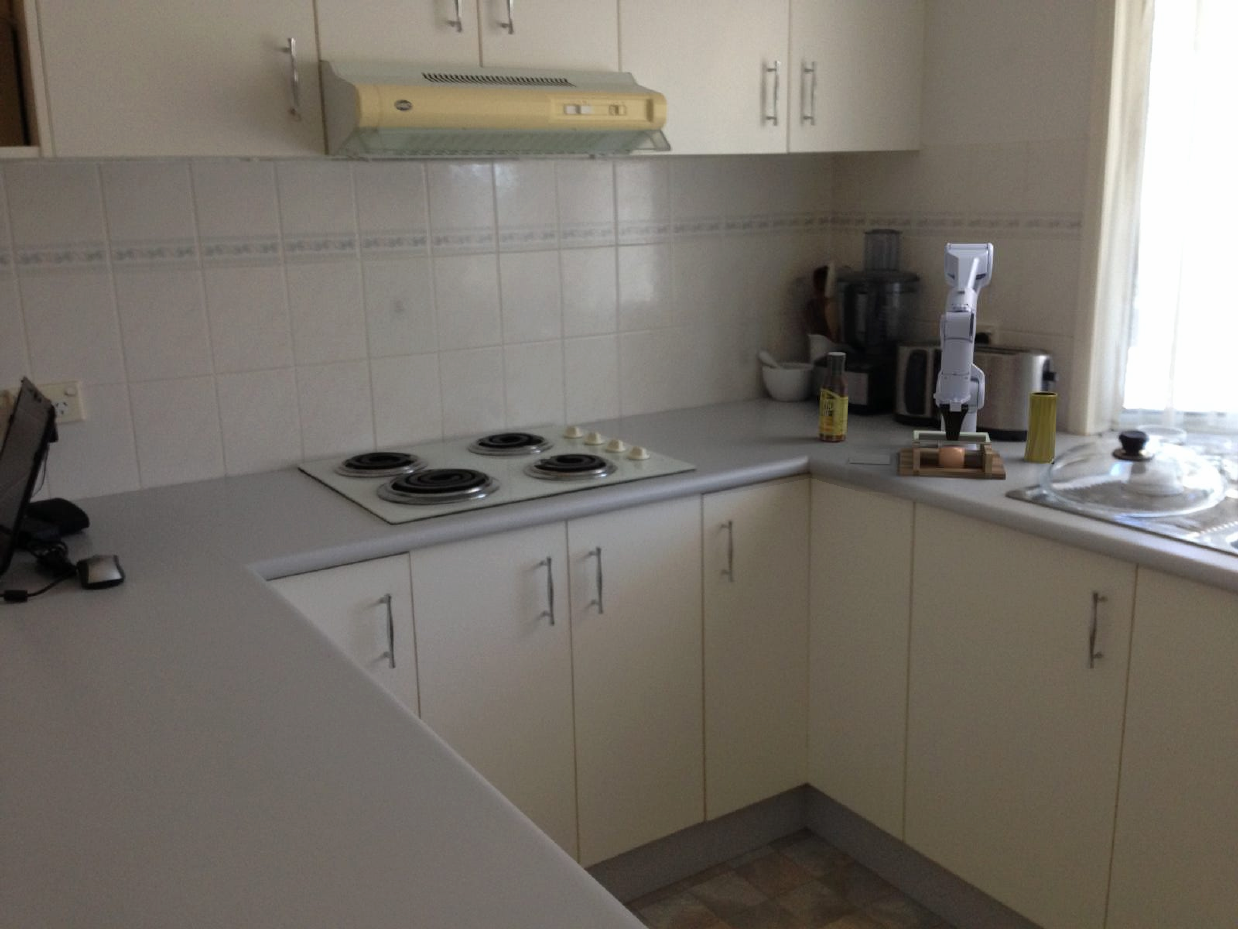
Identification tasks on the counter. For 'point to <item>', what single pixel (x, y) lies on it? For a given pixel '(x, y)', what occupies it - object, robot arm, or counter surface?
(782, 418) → the counter surface
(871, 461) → the coaster
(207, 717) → the counter surface
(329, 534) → the counter surface
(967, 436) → the cover
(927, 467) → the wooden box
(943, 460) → the tan rounded cylinder
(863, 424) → the counter surface
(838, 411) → the sauce bottle
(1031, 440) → the vase
